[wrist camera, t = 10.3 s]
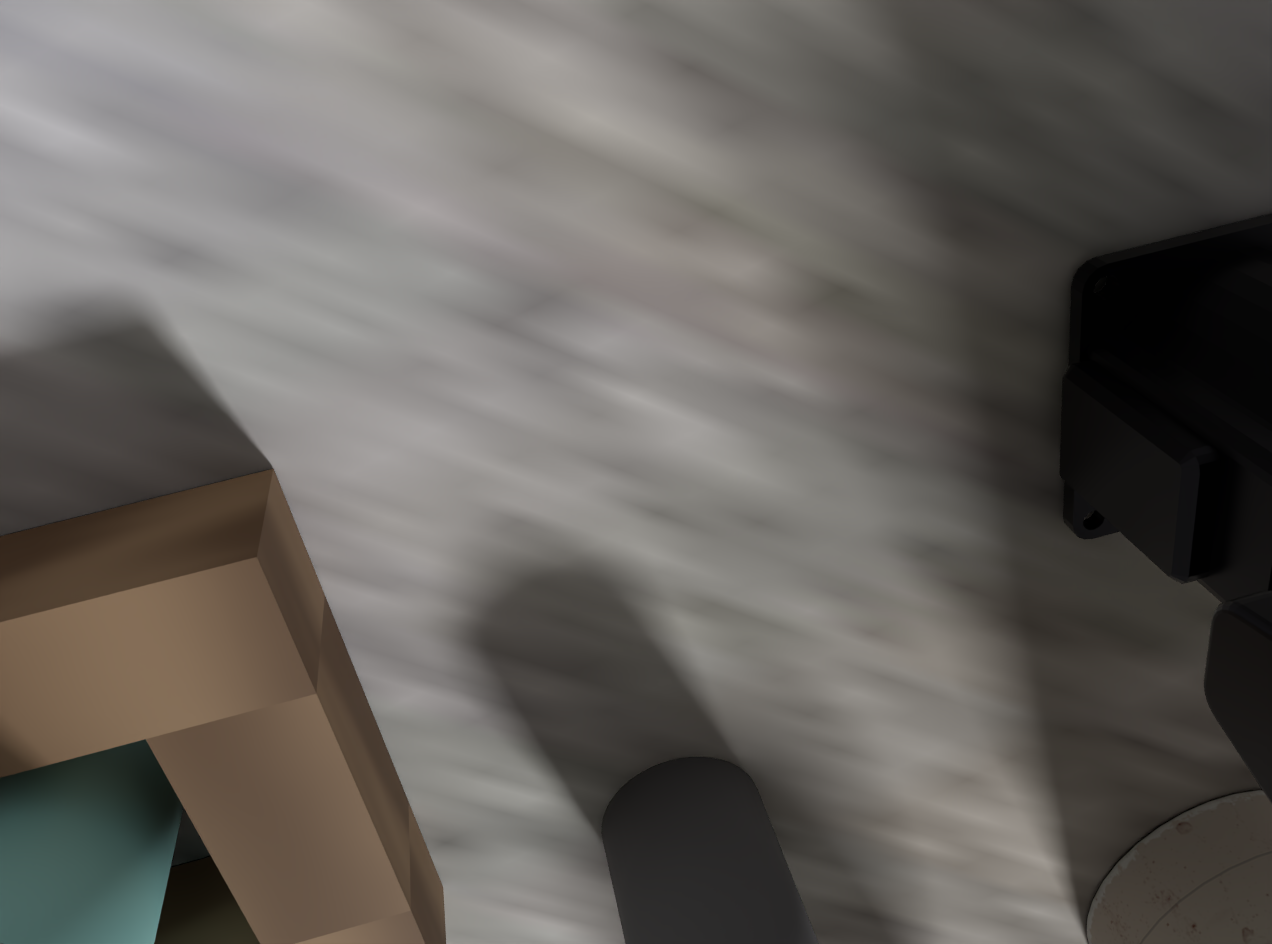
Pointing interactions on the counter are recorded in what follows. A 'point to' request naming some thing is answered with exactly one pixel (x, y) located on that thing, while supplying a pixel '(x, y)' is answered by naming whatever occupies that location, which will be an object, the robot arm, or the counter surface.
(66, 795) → the peg
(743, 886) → the black dowel
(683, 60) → the counter surface
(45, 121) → the counter surface
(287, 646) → the socket block
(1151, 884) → the thermos bottle
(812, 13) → the counter surface
